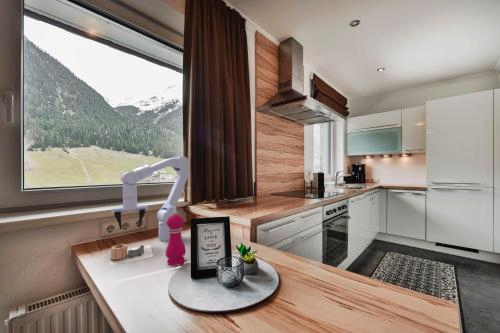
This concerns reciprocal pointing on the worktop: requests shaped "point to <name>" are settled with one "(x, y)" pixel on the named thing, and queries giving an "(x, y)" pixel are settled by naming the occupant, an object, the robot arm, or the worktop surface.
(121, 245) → the peg
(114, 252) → the ring
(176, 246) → the pepper mill
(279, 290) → the worktop surface
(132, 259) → the board
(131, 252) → the grey mechanical part
